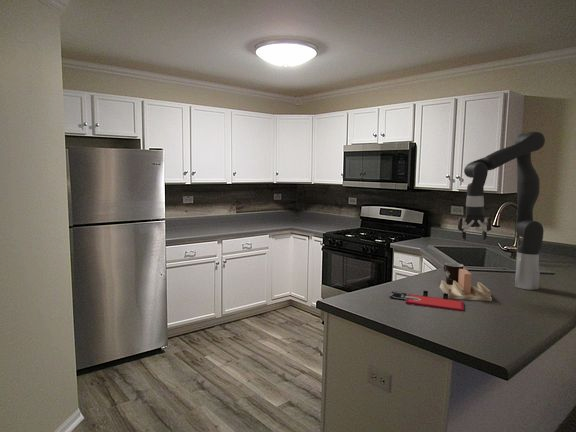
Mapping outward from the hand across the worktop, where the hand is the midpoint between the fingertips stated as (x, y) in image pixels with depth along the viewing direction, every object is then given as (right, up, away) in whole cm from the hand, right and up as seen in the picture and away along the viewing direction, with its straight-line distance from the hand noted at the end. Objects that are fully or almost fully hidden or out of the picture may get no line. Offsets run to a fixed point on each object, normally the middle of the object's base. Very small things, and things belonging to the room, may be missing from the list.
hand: (474, 239), depth 185 cm
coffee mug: (-4, -23, +14) cm, 27 cm away
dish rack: (-6, -25, -4) cm, 26 cm away
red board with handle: (-28, -26, -15) cm, 42 cm away
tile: (-7, -23, -4) cm, 24 cm away
